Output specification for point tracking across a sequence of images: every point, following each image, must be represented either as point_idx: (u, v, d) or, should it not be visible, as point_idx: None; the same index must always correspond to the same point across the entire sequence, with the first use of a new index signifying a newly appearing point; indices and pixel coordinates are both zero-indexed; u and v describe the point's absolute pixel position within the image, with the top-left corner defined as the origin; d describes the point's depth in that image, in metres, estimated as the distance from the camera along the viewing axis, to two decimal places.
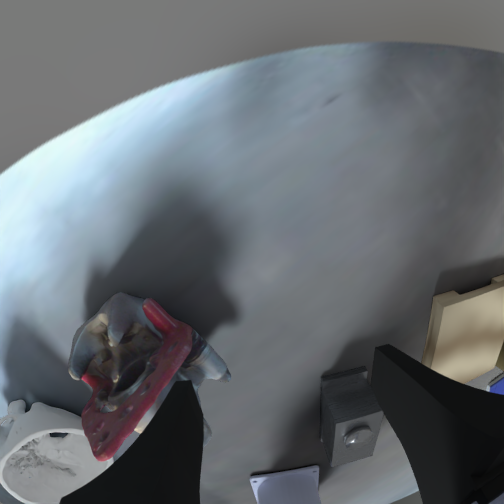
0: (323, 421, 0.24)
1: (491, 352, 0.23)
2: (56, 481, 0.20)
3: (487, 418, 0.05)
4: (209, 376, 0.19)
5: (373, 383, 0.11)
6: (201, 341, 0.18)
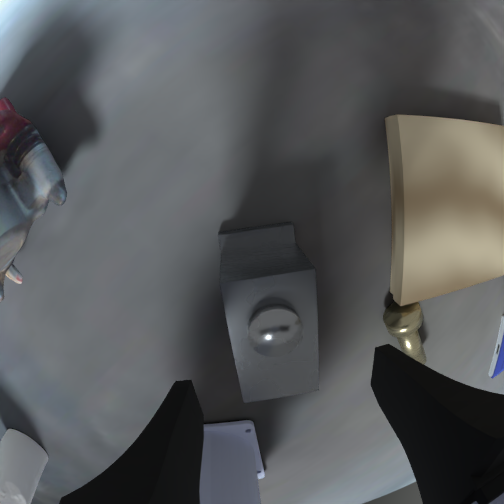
0: None
1: (500, 239, 0.16)
2: None
3: (487, 418, 0.05)
4: (38, 187, 0.12)
5: (373, 383, 0.11)
6: (37, 138, 0.11)
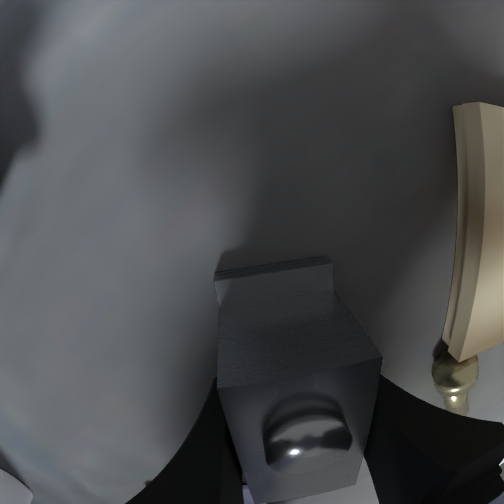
0: None
1: None
2: None
3: (441, 443, 0.05)
4: None
5: None
6: None
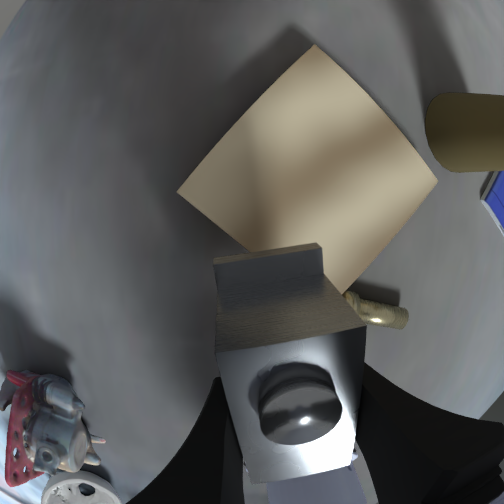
0: None
1: (394, 166, 0.16)
2: None
3: (440, 444, 0.05)
4: (66, 408, 0.18)
5: None
6: (43, 385, 0.17)
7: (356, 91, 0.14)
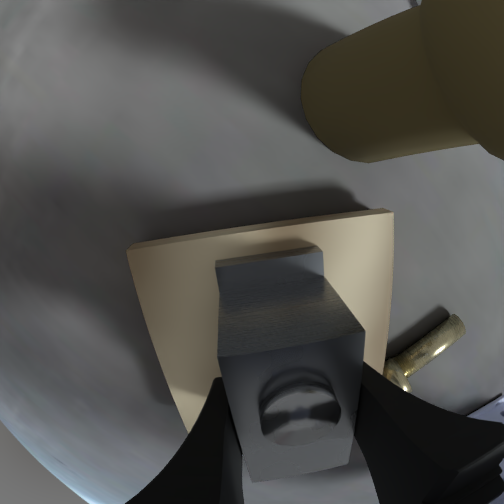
0: None
1: (330, 264, 0.12)
2: None
3: (441, 443, 0.05)
4: None
5: None
6: None
7: (212, 247, 0.12)
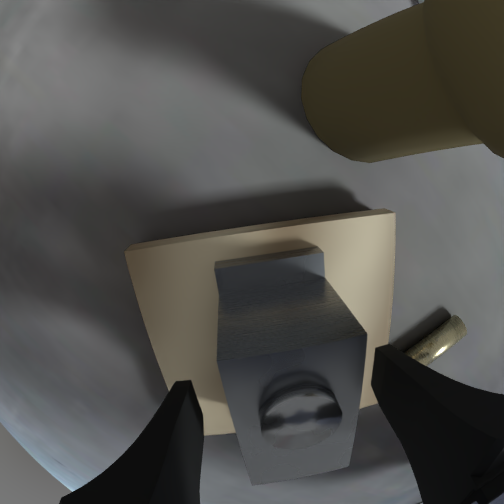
0: None
1: (331, 265, 0.12)
2: None
3: (487, 418, 0.05)
4: None
5: (373, 383, 0.11)
6: None
7: (211, 248, 0.11)
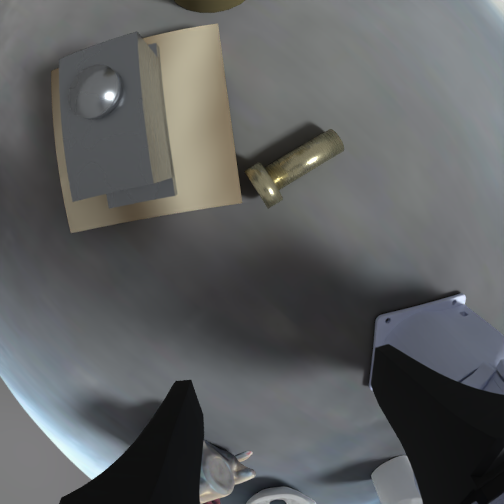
0: None
1: (169, 58, 0.14)
2: None
3: (487, 418, 0.05)
4: None
5: (373, 383, 0.11)
6: None
7: None
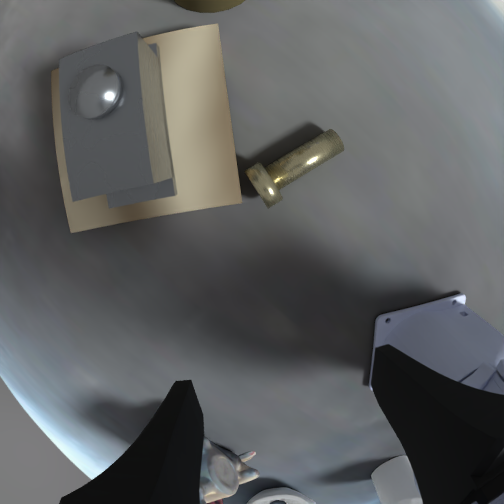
0: None
1: (169, 58, 0.14)
2: None
3: (487, 418, 0.05)
4: None
5: (373, 383, 0.11)
6: None
7: None
